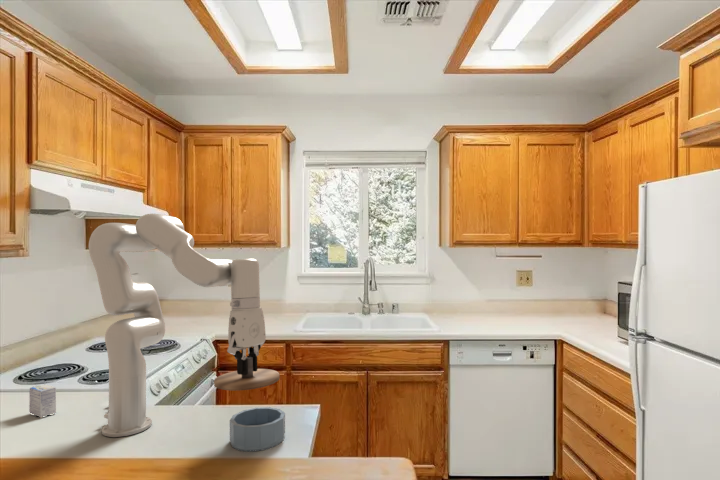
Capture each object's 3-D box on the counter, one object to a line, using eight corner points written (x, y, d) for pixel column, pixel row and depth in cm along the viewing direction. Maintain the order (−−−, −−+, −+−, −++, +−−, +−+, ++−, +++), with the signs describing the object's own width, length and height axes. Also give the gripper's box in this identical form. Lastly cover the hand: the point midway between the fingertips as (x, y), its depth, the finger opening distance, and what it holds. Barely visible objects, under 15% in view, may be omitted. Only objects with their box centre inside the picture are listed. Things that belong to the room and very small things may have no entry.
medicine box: (56, 414, 133) (56, 386, 134) (40, 419, 129) (40, 390, 130) (44, 410, 137) (45, 383, 138) (28, 414, 133) (29, 387, 134)
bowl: (219, 445, 108) (218, 421, 108) (255, 425, 120) (255, 404, 121) (261, 455, 101) (260, 430, 102) (295, 433, 114) (294, 411, 114)
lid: (199, 386, 108) (199, 362, 108) (245, 370, 123) (245, 349, 123) (249, 393, 100) (249, 368, 101) (292, 375, 115) (291, 353, 116)
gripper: (234, 307, 104) (235, 382, 103) (275, 301, 118) (277, 366, 117) (212, 307, 107) (214, 379, 106) (255, 301, 122) (257, 364, 121)
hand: (247, 371), depth 112 cm, fingers closed on lid, 3 cm apart
